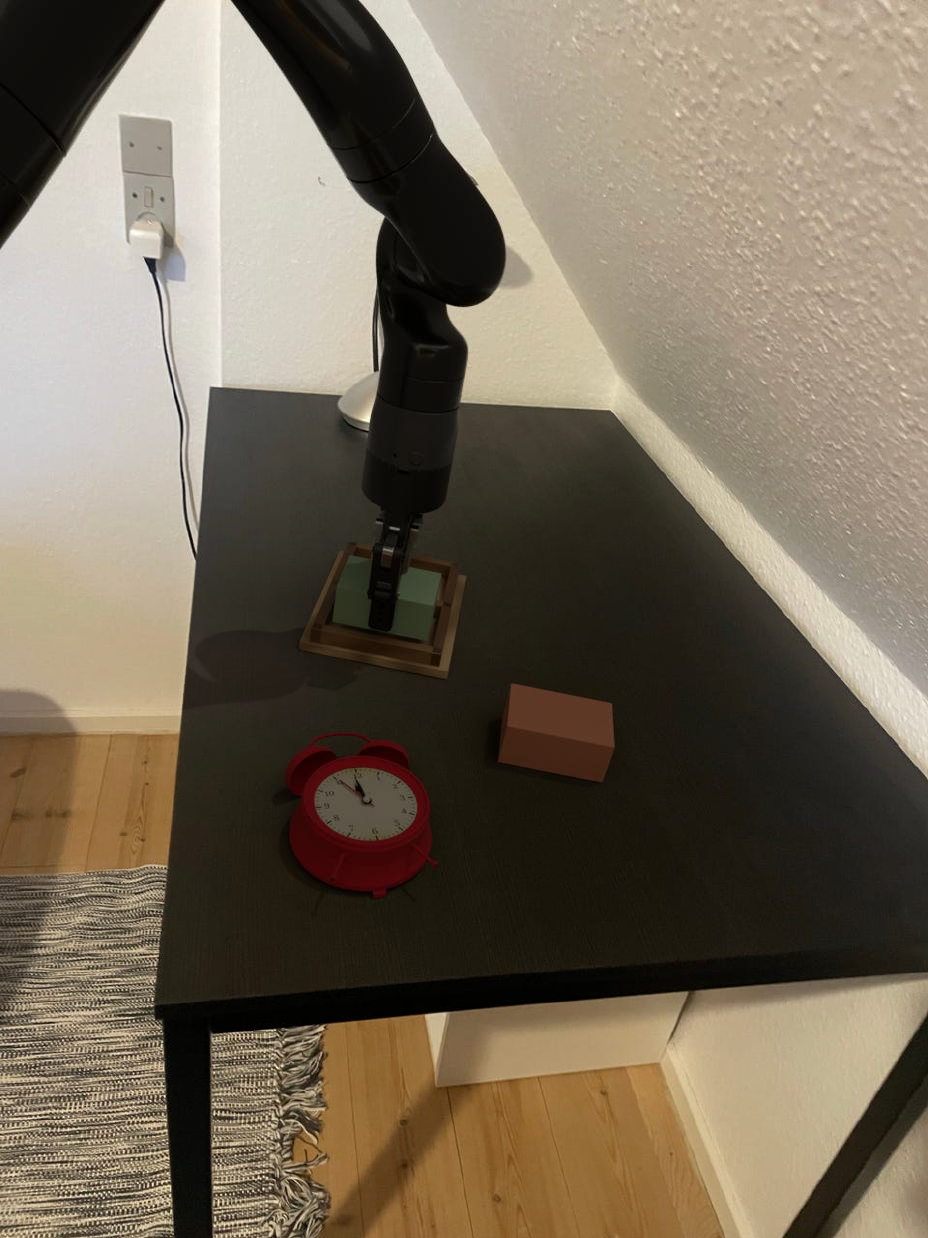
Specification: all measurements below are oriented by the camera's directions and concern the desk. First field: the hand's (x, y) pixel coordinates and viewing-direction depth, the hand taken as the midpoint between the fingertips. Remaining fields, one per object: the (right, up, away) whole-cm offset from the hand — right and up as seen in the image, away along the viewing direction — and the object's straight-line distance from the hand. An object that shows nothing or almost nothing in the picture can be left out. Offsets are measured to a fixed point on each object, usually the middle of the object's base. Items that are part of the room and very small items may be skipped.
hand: (385, 609), depth 90 cm
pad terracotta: (+15, -12, -8) cm, 21 cm away
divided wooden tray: (0, 0, +5) cm, 5 cm away
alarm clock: (-1, -16, -19) cm, 25 cm away
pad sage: (0, 0, 0) cm, 1 cm away
